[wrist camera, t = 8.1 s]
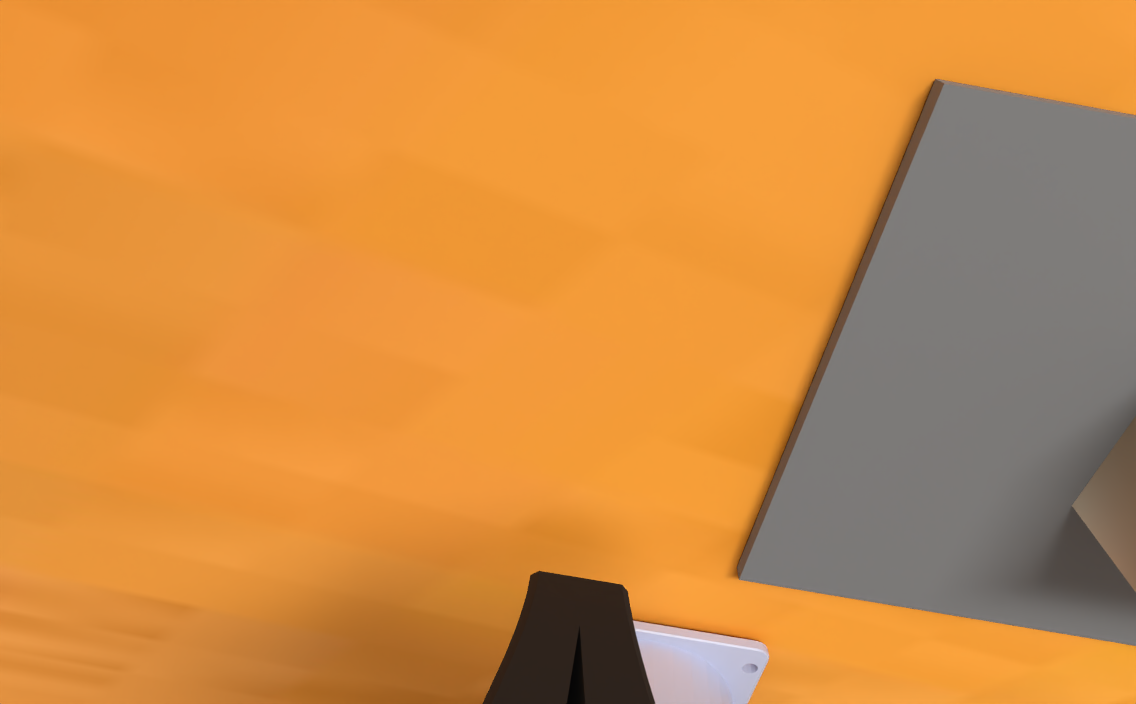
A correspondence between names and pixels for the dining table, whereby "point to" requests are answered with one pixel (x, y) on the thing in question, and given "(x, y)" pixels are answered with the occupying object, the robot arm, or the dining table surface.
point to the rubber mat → (974, 378)
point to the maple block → (1114, 504)
